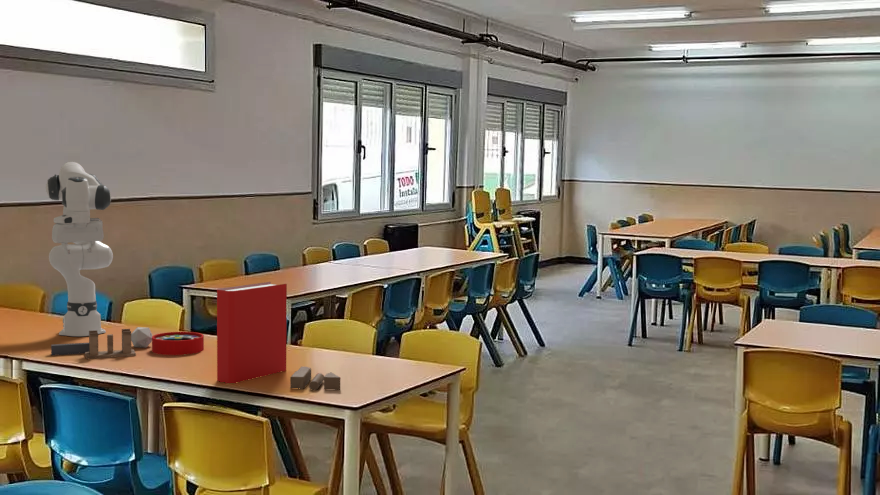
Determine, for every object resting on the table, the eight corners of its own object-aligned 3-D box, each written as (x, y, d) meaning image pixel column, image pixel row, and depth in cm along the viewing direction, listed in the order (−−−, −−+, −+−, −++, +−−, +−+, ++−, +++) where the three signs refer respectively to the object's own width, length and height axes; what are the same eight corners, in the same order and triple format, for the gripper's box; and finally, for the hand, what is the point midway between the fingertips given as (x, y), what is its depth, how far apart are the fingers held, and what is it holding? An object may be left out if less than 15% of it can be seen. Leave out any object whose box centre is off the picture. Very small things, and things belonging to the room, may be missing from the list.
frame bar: (51, 354, 363) (51, 344, 363) (89, 352, 369) (89, 342, 369) (51, 356, 361) (51, 345, 361) (90, 353, 367) (90, 343, 366)
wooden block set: (289, 374, 314) (299, 363, 332) (289, 391, 315) (299, 378, 333) (339, 375, 313) (347, 364, 331) (339, 392, 314) (347, 379, 332)
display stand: (85, 354, 363) (84, 330, 362) (133, 351, 370) (133, 328, 370) (86, 358, 356) (85, 334, 355) (135, 355, 363) (135, 331, 362)
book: (270, 367, 347) (270, 281, 345) (286, 370, 343) (286, 283, 340) (214, 380, 325) (214, 289, 322) (231, 384, 320) (231, 291, 317)
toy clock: (205, 339, 369) (152, 341, 363) (205, 354, 370) (152, 356, 363) (202, 330, 388) (151, 332, 382) (202, 344, 389) (151, 346, 382)
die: (137, 351, 375) (153, 331, 377) (122, 339, 377) (137, 319, 379) (146, 354, 383) (160, 335, 385) (130, 343, 385) (145, 323, 387)
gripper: (98, 217, 379) (98, 251, 380) (49, 218, 363) (50, 254, 364) (106, 218, 375) (107, 252, 376) (57, 219, 359) (58, 255, 360)
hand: (78, 253), depth 370 cm, fingers open, 8 cm apart
